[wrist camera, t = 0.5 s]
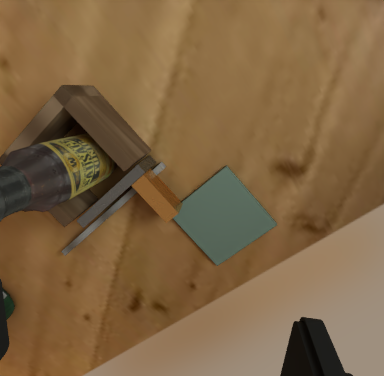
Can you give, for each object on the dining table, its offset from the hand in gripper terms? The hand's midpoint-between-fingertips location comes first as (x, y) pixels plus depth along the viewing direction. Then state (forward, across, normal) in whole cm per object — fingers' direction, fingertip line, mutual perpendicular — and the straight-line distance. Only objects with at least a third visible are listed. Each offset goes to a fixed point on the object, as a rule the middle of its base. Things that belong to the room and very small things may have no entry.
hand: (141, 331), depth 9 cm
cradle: (+30, +16, +5) cm, 34 cm away
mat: (+29, -3, +8) cm, 31 cm away
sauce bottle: (+30, +14, +2) cm, 33 cm away
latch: (+29, +8, +8) cm, 31 cm away
